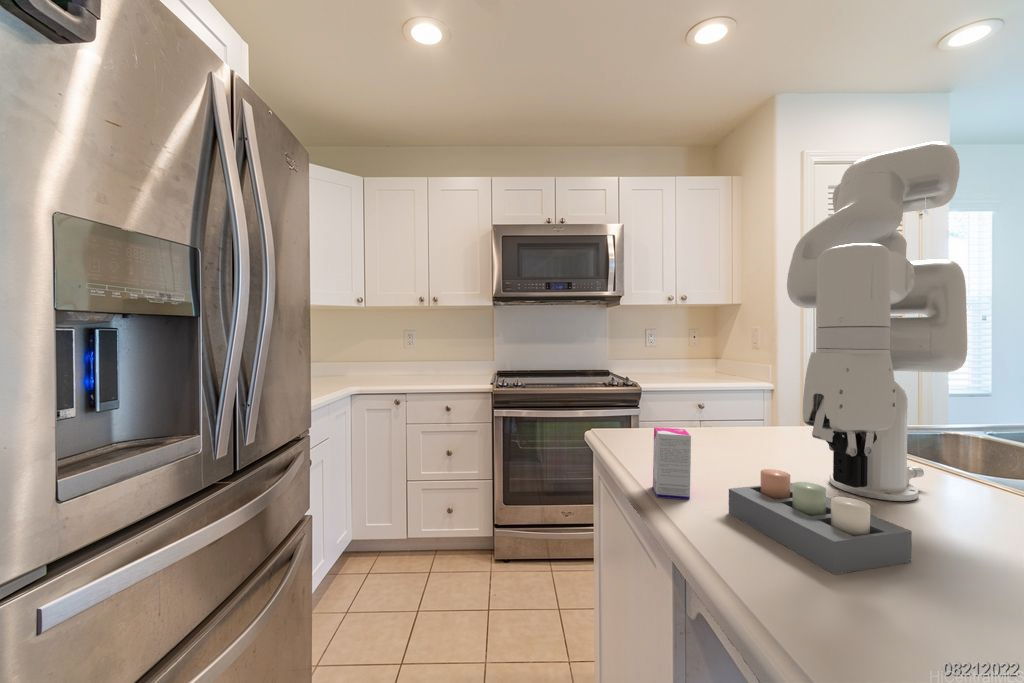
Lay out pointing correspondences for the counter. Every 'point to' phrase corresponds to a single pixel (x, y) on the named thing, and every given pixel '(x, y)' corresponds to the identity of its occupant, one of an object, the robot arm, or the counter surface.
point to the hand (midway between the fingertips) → (849, 483)
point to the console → (821, 533)
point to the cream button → (850, 516)
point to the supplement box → (671, 463)
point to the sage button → (809, 498)
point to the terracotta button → (775, 484)
